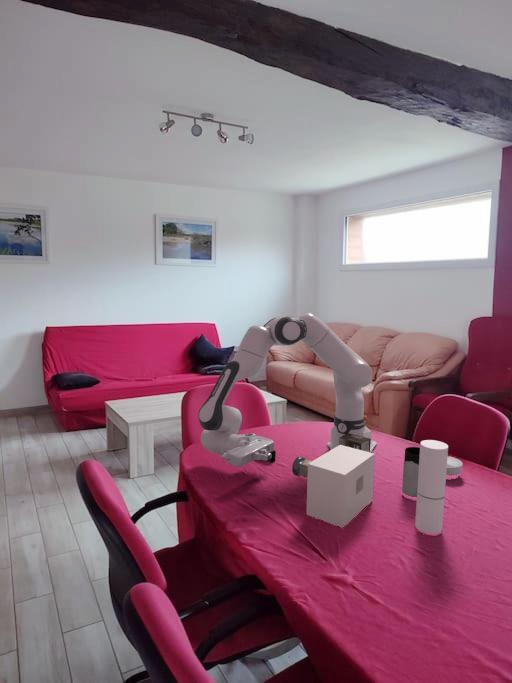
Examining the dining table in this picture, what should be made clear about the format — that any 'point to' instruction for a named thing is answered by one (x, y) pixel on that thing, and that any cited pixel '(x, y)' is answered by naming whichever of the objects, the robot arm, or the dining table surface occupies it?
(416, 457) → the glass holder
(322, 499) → the box
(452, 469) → the ramekin
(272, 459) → the mobile phone
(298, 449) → the dining table surface
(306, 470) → the plunger
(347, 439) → the coffee box
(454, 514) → the dining table surface
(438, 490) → the cylindrical container
